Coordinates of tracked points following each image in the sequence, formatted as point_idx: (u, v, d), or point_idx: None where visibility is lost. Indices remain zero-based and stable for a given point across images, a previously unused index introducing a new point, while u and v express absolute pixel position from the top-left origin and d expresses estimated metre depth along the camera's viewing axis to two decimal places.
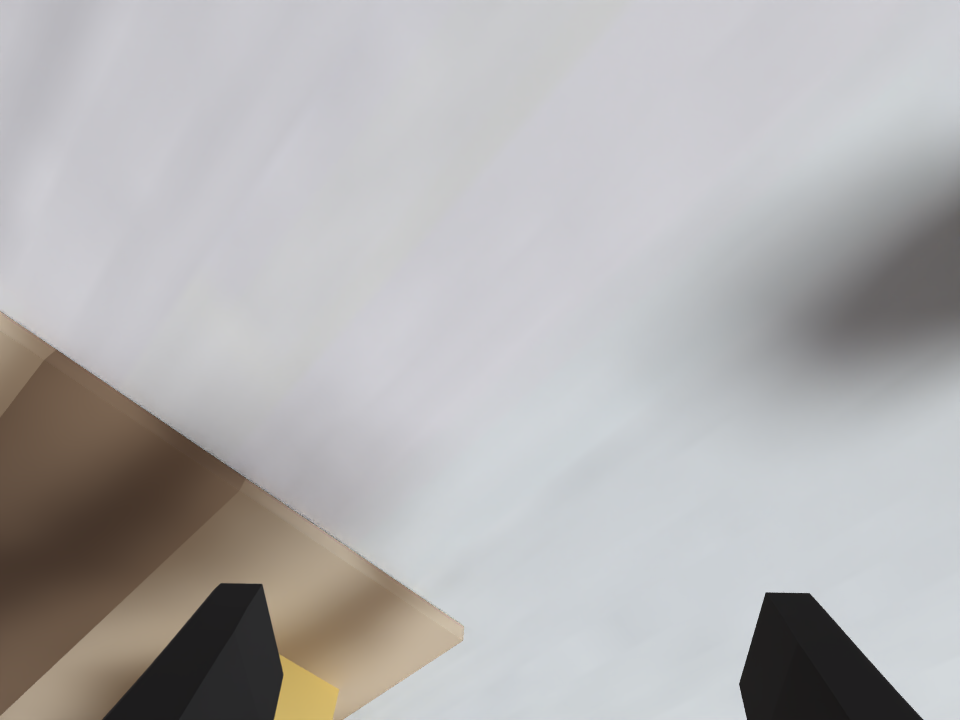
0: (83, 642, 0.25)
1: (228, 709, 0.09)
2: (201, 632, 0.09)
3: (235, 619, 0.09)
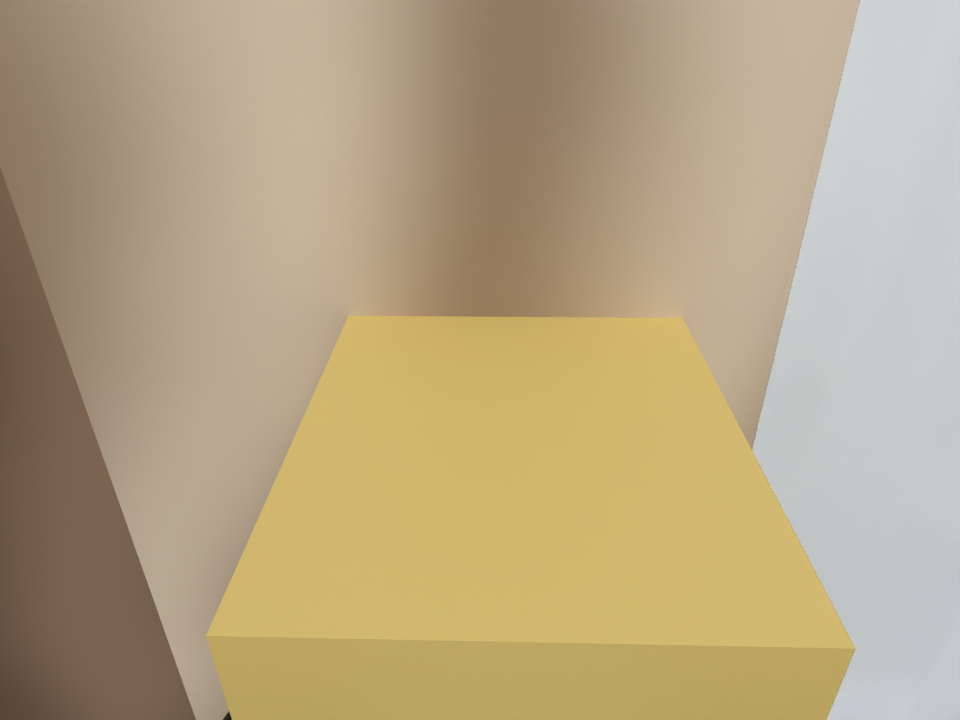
0: (151, 570, 0.12)
1: None
2: None
3: None
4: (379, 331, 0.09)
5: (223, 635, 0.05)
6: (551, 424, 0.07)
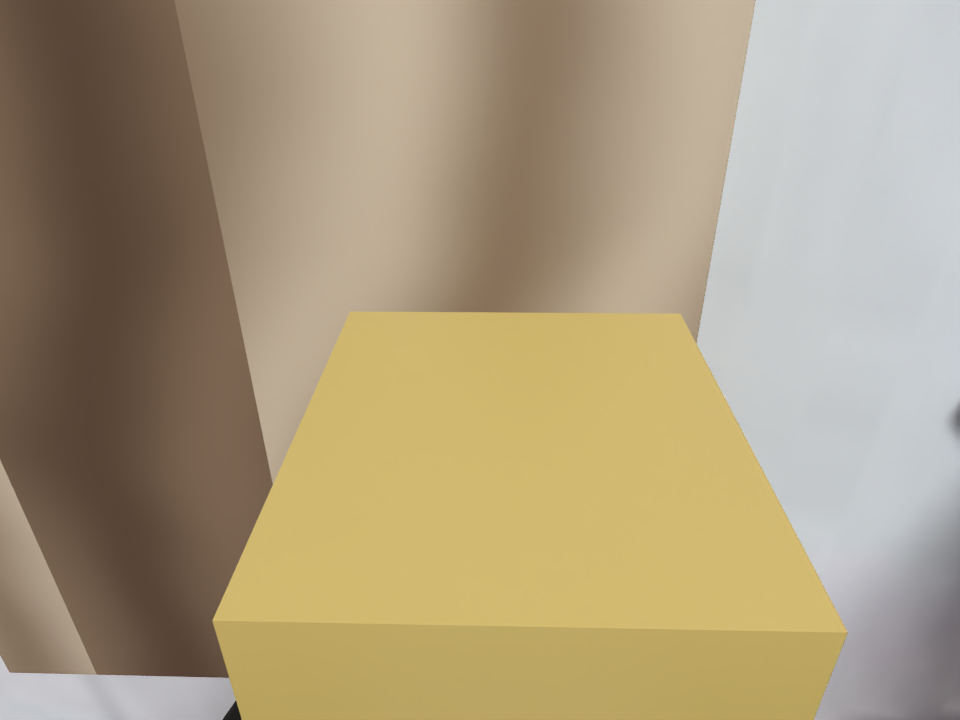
0: (264, 412, 0.16)
1: None
2: None
3: None
4: (380, 326, 0.09)
5: (229, 620, 0.05)
6: (551, 416, 0.07)
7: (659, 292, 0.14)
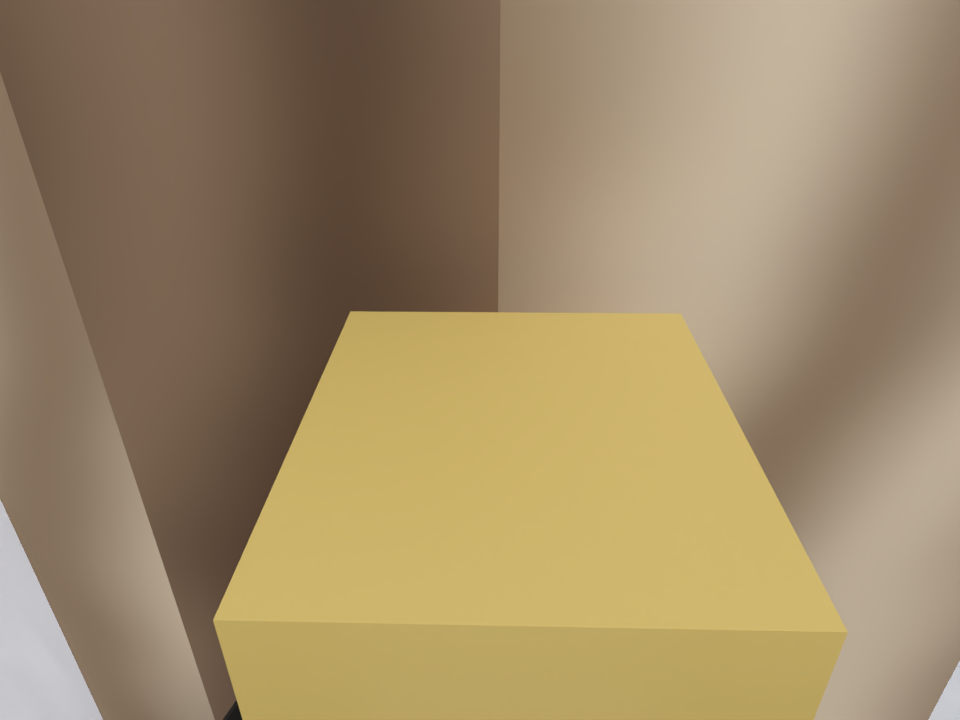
0: None
1: None
2: None
3: None
4: (381, 326, 0.09)
5: (230, 620, 0.05)
6: (551, 416, 0.07)
7: None
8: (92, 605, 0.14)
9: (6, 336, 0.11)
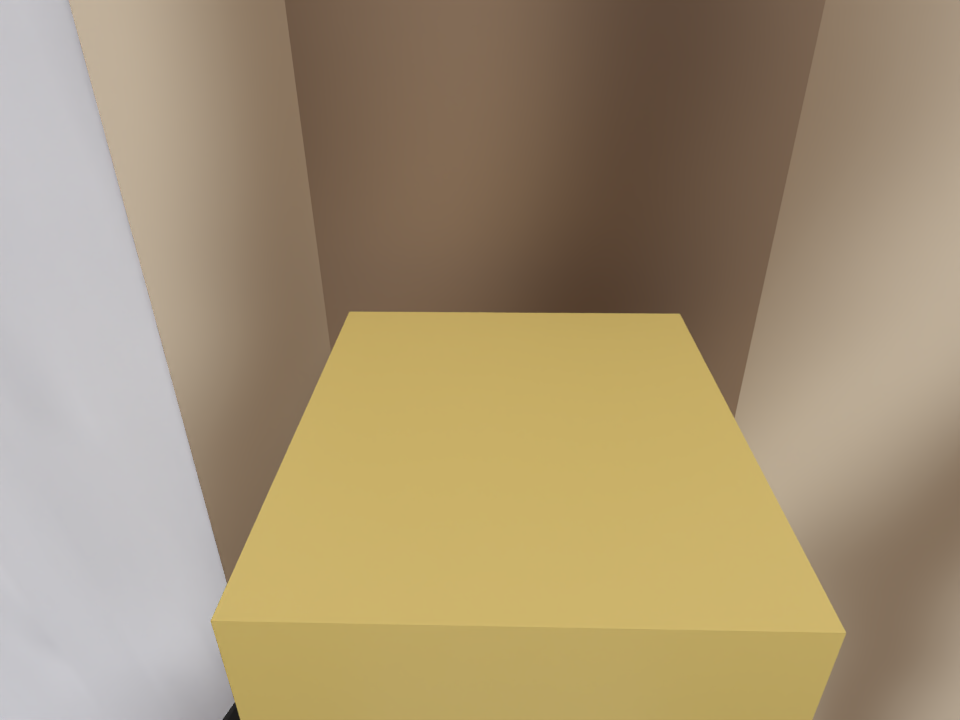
0: None
1: None
2: None
3: None
4: (380, 326, 0.09)
5: (228, 620, 0.05)
6: (550, 416, 0.07)
7: None
8: None
9: (245, 341, 0.11)
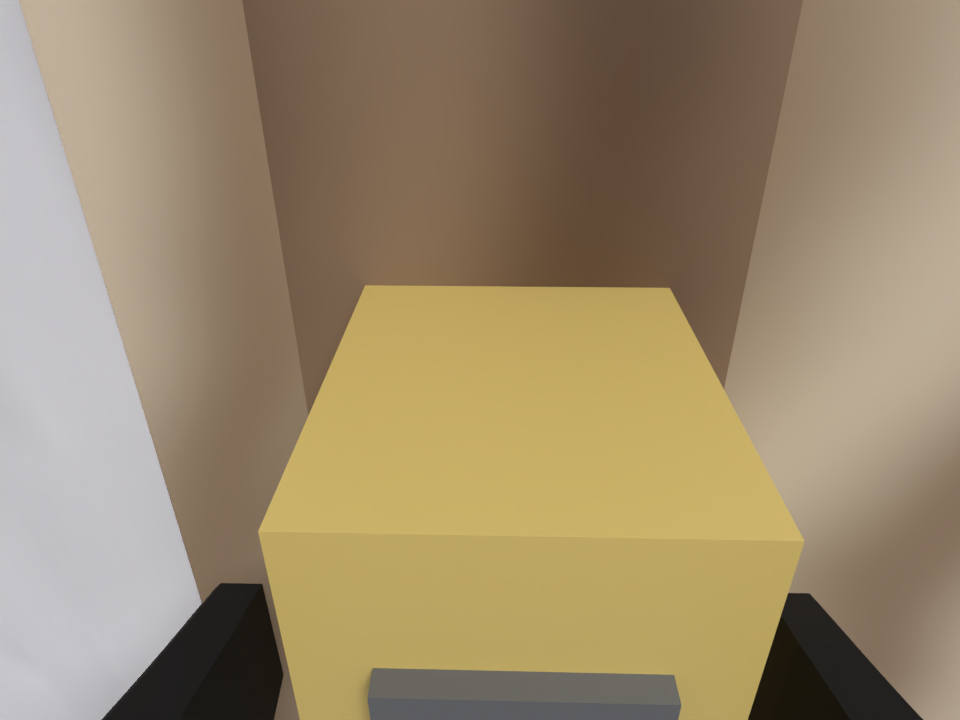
0: None
1: (228, 709, 0.08)
2: (201, 632, 0.09)
3: (235, 619, 0.09)
4: (394, 298, 0.09)
5: (272, 531, 0.06)
6: (550, 374, 0.08)
7: None
8: None
9: (211, 351, 0.10)
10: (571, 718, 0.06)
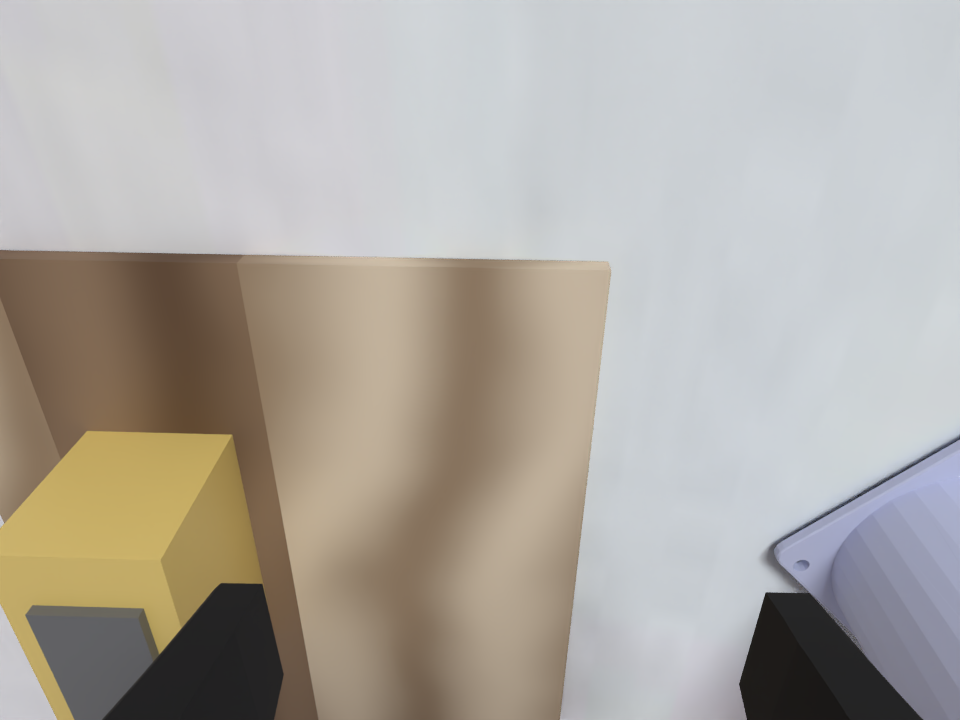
0: (292, 551, 0.23)
1: (228, 709, 0.09)
2: (201, 632, 0.09)
3: (235, 619, 0.09)
4: (95, 440, 0.20)
5: None
6: (132, 486, 0.18)
7: (556, 487, 0.21)
8: None
9: (17, 458, 0.21)
10: (102, 623, 0.17)
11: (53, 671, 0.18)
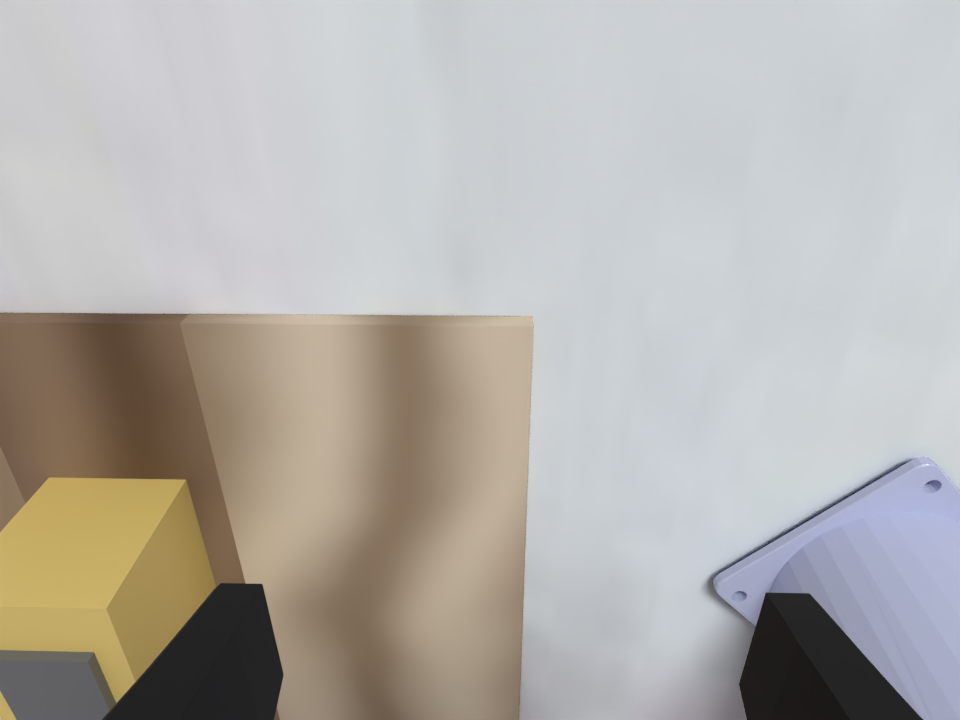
0: None
1: (228, 709, 0.09)
2: (201, 632, 0.09)
3: (235, 619, 0.09)
4: (56, 487, 0.21)
5: None
6: (86, 534, 0.19)
7: (497, 525, 0.22)
8: None
9: None
10: (55, 667, 0.18)
11: (13, 710, 0.19)
